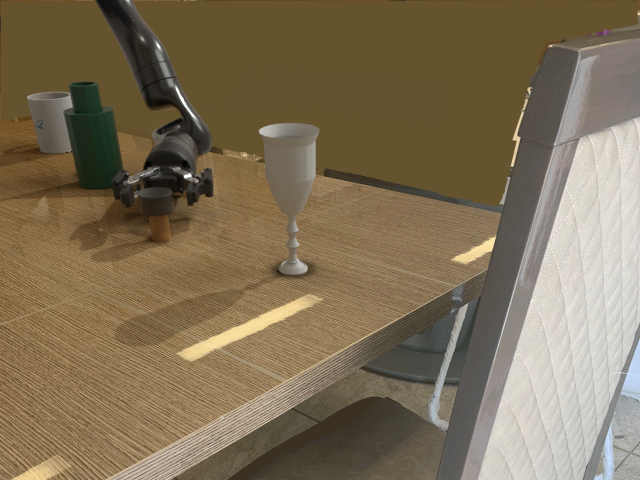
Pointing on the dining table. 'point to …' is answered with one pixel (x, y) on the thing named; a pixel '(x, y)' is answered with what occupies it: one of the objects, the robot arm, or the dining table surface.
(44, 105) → the mug
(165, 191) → the stopper
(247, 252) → the dining table surface
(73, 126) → the bottle
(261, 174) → the dining table surface
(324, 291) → the dining table surface
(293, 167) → the chalice
